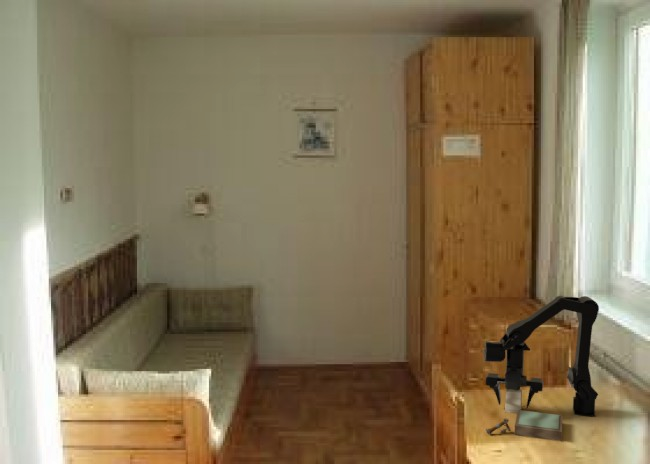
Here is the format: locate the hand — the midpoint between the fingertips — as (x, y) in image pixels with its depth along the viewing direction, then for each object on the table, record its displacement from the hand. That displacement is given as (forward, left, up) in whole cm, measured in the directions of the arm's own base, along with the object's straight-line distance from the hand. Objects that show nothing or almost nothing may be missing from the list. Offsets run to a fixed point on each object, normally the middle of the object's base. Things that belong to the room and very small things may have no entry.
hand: (513, 406), depth 235 cm
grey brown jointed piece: (+3, +21, -2) cm, 21 cm away
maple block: (0, 0, -2) cm, 2 cm away
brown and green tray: (-9, +14, -2) cm, 17 cm away
